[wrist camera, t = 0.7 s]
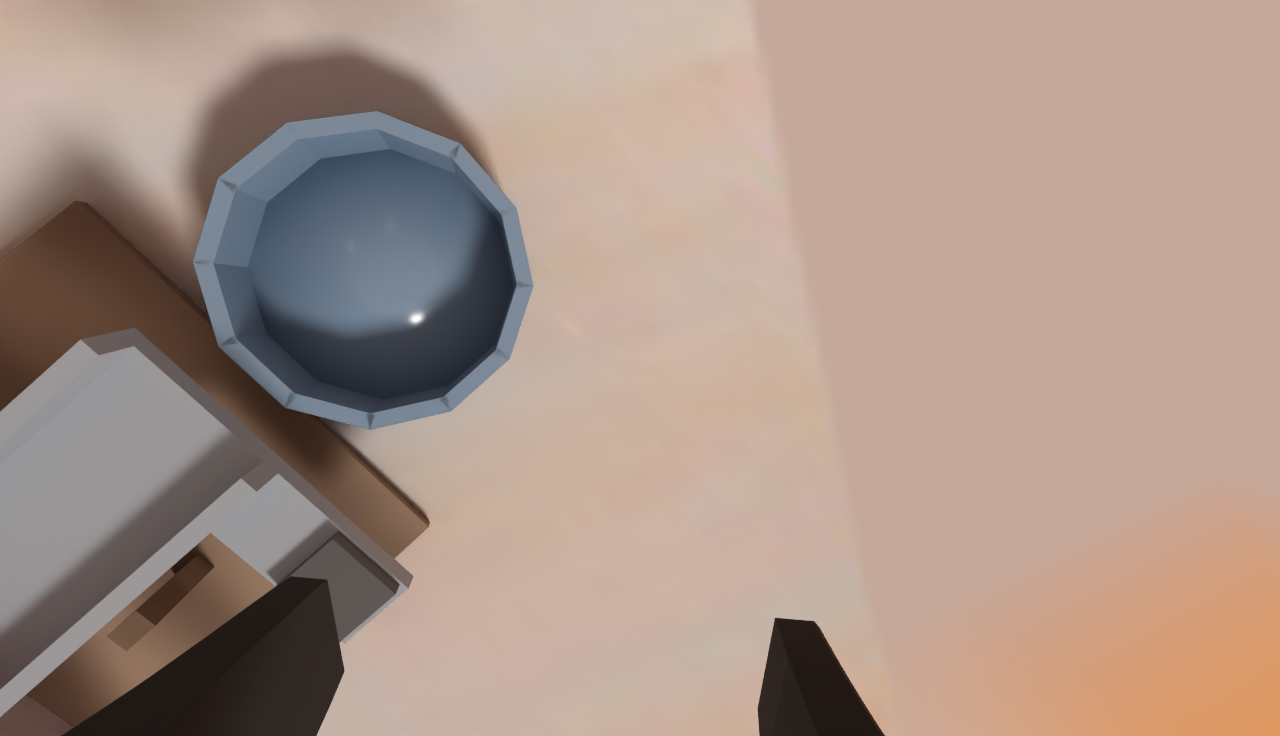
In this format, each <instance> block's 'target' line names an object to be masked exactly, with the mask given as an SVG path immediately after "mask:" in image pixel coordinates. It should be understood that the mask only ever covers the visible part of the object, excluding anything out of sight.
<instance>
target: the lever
mask: <svg viewBox="0 0 1280 736" xmlns="http://www.w3.org/2000/svg"><path fill="white" fill-rule="evenodd" d="M210 533H211V534H213V535H214V536H215V537H216V538H217V539H219V540H220V541H221V542H222V543H224V544H225V545H226V546H227V547H228V548H230V549H231V550H232V551H233V552H234V553H236V554H237V555H238V556H239V557H240V558H242V559H243V560H244V561H245V562H247V563H248V564H249V565H250V566H251V567H253V568H254V569H255V570H256V571H257V572H259V573H260V574H261V575H262V576H264V577H265V578H266V579H267V580H268V581H270V582H271V583H272V584H273V585H274V586H275V587H276V586H277V585H279V584H280V583H282V582H283V581H285V580H286V579H287V578H289V577H290V576H293V577H304V578H316V579H327V580H328V585H329V591H330V596H331V601H332V607H333V612H334V618H335V623H336V628H337V634H338V639H339V642H341V641H342V642H343V643H345V642H346V641H348V640H349V639H350V638H351V637H352V636H353V635H355V634H356V633H357V632H358V631H359V630H360V629H362V628H363V627H364V626H365V625H366V624H367V623H369V622H370V621H371V620H372V619H373V618H374V617H376V616H377V615H378V614H379V613H380V612H381V611H383V610H384V609H385V608H386V607H387V606H388V605H390V604H391V603H392V602H393V601H394V600H395V599H397V598H398V597H399V596H400V595H401V594H402V593H404V592H405V591H406V590H407V589H408V588H409V586H410V583H411V581H412V578H413V575H412V574H410V573H409V572H408V571H407V570H406V569H405V568H404V567H403V566H401V565H400V564H399V563H398V562H397V561H396V560H395V559H394V558H392V557H391V556H390V555H389V554H388V553H387V552H386V551H385V550H384V549H382V548H381V547H380V546H379V545H378V544H377V543H376V542H375V541H373V540H372V539H371V538H370V537H369V536H368V535H367V534H366V533H364V532H363V531H362V530H361V529H360V528H359V527H358V526H357V525H355V524H354V523H353V522H352V521H351V520H350V519H349V518H348V517H346V516H345V515H344V514H343V513H342V512H341V511H340V510H339V509H338V508H336V507H335V506H334V505H333V504H332V503H331V502H330V501H329V500H327V499H326V498H325V497H324V496H323V495H322V494H321V493H320V492H318V491H317V490H316V489H315V488H314V487H313V486H312V485H311V484H309V483H308V482H307V481H306V480H305V479H304V478H303V477H302V476H301V475H299V474H298V473H297V472H296V471H295V470H294V469H293V468H292V467H290V466H289V465H288V464H287V463H286V462H285V461H284V460H283V459H281V458H280V457H279V456H278V455H277V454H276V453H275V452H274V451H272V450H271V449H270V448H269V447H268V446H267V445H266V444H265V443H264V442H262V441H261V440H260V439H259V438H258V437H257V436H256V435H255V434H253V433H252V432H251V431H250V430H249V429H248V428H247V427H246V426H244V425H243V424H242V423H241V422H240V421H239V420H238V419H237V418H235V417H234V416H233V415H232V414H231V413H230V412H229V411H228V410H226V409H225V408H224V407H223V406H222V405H221V404H220V403H219V402H218V401H216V400H215V399H214V398H213V397H212V396H211V395H210V394H209V393H207V392H206V391H205V390H204V389H203V388H202V387H201V386H200V385H198V384H197V383H196V382H195V381H194V380H193V379H192V378H191V377H189V376H188V375H187V374H186V373H185V372H184V371H183V370H182V369H181V368H179V367H178V366H177V365H176V364H175V363H174V362H173V361H172V360H170V359H169V358H168V357H167V356H166V355H165V354H164V353H163V352H161V351H160V350H159V349H158V348H157V347H156V346H155V345H154V344H152V343H151V342H150V341H149V340H148V339H147V338H146V337H145V336H143V335H142V334H141V333H140V332H139V331H138V330H137V329H136V328H130V329H126V330H121V331H117V332H112V333H108V334H103V335H99V336H94V337H90V338H85V339H81V340H79V341H78V342H77V343H76V344H75V345H74V346H73V347H72V348H70V349H69V350H68V351H67V352H66V353H65V354H64V355H63V356H62V357H60V358H59V359H58V360H57V361H56V362H55V363H54V364H53V365H52V366H51V367H49V368H48V369H47V370H46V371H45V372H44V373H43V374H42V375H41V376H39V377H38V378H37V379H36V380H35V381H34V382H33V383H32V384H31V385H29V386H28V387H27V388H26V389H25V390H24V391H23V392H22V393H21V394H19V395H18V396H17V397H16V398H15V399H14V400H13V401H12V402H11V403H9V404H8V405H7V406H6V407H5V408H4V409H3V410H2V411H1V412H0V717H1V716H2V715H3V714H4V713H6V712H7V711H8V710H9V709H10V708H11V707H12V706H13V705H15V704H16V703H17V702H18V701H19V700H20V699H21V698H23V697H24V696H25V695H26V694H27V693H28V692H29V691H31V690H32V689H33V688H34V687H35V686H36V685H37V684H39V683H40V682H41V681H42V680H43V679H44V678H45V677H47V676H48V675H49V674H50V673H51V672H52V671H53V670H55V669H56V668H57V667H58V666H59V665H60V664H61V663H63V662H64V661H65V660H66V659H67V658H68V657H69V656H71V655H72V654H73V653H74V652H75V651H76V650H77V649H79V648H80V647H81V646H82V645H83V644H84V643H85V642H87V641H88V640H89V639H90V638H91V637H92V636H93V635H94V634H96V633H97V632H98V631H99V630H100V629H101V628H102V627H104V626H105V625H106V624H107V623H108V622H109V621H110V620H112V619H113V618H114V617H115V616H116V615H117V614H118V613H120V612H121V611H122V610H123V609H124V608H125V607H126V606H128V605H129V604H130V603H131V602H132V601H133V600H134V599H136V598H137V597H138V596H139V595H140V594H141V593H142V592H144V591H145V590H146V589H147V588H148V587H149V586H150V585H152V584H153V583H154V582H155V581H156V580H157V579H158V578H160V577H161V576H162V575H163V574H164V573H165V572H166V571H167V570H169V569H170V568H171V567H172V566H173V565H174V564H175V563H177V562H178V561H179V560H180V559H181V558H182V557H183V556H185V555H186V554H187V553H188V552H189V551H190V550H191V549H193V548H194V547H195V546H196V545H197V544H198V543H199V542H201V541H202V540H203V539H204V538H205V537H206V536H207V535H209V534H210Z"/></svg>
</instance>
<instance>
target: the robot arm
mask: <svg viewBox="0 0 1280 736" xmlns="http://www.w3.org/2000/svg"><path fill="white" fill-rule="evenodd" d="M343 673H344V666H343V661H342V655H341V650H340V645H339V639H338V634H337V628H336V623H335V618H334V612H333V607H332V601H331V596H330V591H329V585H328V580H327V579H316V578H304V577H293V576H290V577H289V578H287V579H286V580H285V581H283V582H282V583H280V584H279V585H277V586H276V587H274V588H273V589H271V590H270V591H269V592H267V593H266V594H264V595H263V596H262V597H260V598H259V599H257V600H256V601H255V602H253V603H252V604H251V605H249V606H248V607H246V608H245V609H244V610H242V611H241V612H240V613H238V614H237V615H235V616H234V617H233V618H231V619H230V620H229V621H227V622H226V623H224V624H223V625H222V626H220V627H219V628H218V629H216V630H215V631H213V632H212V633H211V634H209V635H208V636H207V637H205V638H204V639H202V640H201V641H199V642H198V643H197V644H195V645H194V646H192V647H191V648H190V649H188V650H187V651H185V652H184V653H183V654H181V655H180V656H178V657H177V658H176V659H174V660H173V661H171V662H170V663H169V664H167V665H166V666H164V667H163V668H162V669H160V670H159V671H157V672H156V673H154V674H153V675H152V676H150V677H149V678H147V679H146V680H144V681H143V682H142V683H140V684H139V685H137V686H136V687H134V688H133V689H131V690H130V691H128V692H127V693H125V694H124V695H122V696H121V697H119V698H118V699H116V700H115V701H113V702H112V703H110V704H109V705H107V706H106V707H104V708H103V709H101V710H100V711H98V712H97V713H95V714H94V715H92V716H91V717H89V718H88V719H86V720H85V721H83V722H82V723H80V724H79V725H77V726H76V727H74V728H73V729H71V730H70V731H68V732H67V733H65V734H64V735H62V736H316V735H317V733H318V731H319V729H320V726H321V724H322V722H323V720H324V718H325V715H326V713H327V711H328V709H329V707H330V704H331V702H332V699H333V697H334V695H335V692H336V690H337V688H338V685H339V683H340V680H341V678H342V676H343ZM758 718H759V733H760V736H885V735H884V734H883V732H882V731H881V729H880V728H879V726H878V725H877V723H876V722H875V720H874V718H873V717H872V715H871V714H870V712H869V711H868V709H867V707H866V706H865V704H864V703H863V701H862V699H861V698H860V696H859V694H858V693H857V691H856V690H855V688H854V686H853V685H852V683H851V681H850V680H849V678H848V676H847V675H846V673H845V671H844V670H843V668H842V666H841V665H840V663H839V661H838V659H837V658H836V656H835V654H834V653H833V651H832V649H831V647H830V645H829V644H828V642H827V640H826V638H825V637H824V635H823V633H822V631H821V629H820V628H819V626H818V625H817V624H816V623H815V622H814V621H805V620H793V619H782V618H775V621H774V626H773V632H772V637H771V642H770V647H769V652H768V658H767V663H766V668H765V673H764V679H763V684H762V689H761V694H760V700H759V705H758Z"/></svg>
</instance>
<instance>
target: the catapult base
mask: <svg viewBox="0 0 1280 736" xmlns="http://www.w3.org/2000/svg"><path fill="white" fill-rule="evenodd" d="M130 328H136V329H137V330H138V331H139V332H140V333H141V334H142V335H143V336H145V337H146V338H147V339H148V340H149V341H150V342H151V343H152V344H154V345H155V346H156V347H157V348H158V349H159V350H160V351H161V352H163V353H164V354H165V355H166V356H167V357H168V358H169V359H170V360H172V361H173V362H174V363H175V364H176V365H177V366H178V367H179V368H181V369H182V370H183V371H184V372H185V373H186V374H187V375H188V376H189V377H191V378H192V379H193V380H194V381H195V382H196V383H197V384H198V385H200V386H201V387H202V388H203V389H204V390H205V391H206V392H207V393H209V394H210V395H211V396H212V397H213V398H214V399H215V400H216V401H218V402H219V403H220V404H221V405H222V406H223V407H224V408H225V409H226V410H228V411H229V412H230V413H231V414H232V415H233V416H234V417H235V418H237V419H238V420H239V421H240V422H241V423H242V424H243V425H244V426H246V427H247V428H248V429H249V430H250V431H251V432H252V433H253V434H255V435H256V436H257V437H258V438H259V439H260V440H261V441H262V442H264V443H265V444H266V445H267V446H268V447H269V448H270V449H271V450H272V451H274V452H275V453H276V454H277V455H278V456H279V457H280V458H281V459H283V460H284V461H285V462H286V463H287V464H288V465H289V466H290V467H292V468H293V469H294V470H295V471H296V472H297V473H298V474H299V475H301V476H302V477H303V478H304V479H305V480H306V481H307V482H308V483H309V484H311V485H312V486H313V487H314V488H315V489H316V490H317V491H318V492H320V493H321V494H322V495H323V496H324V497H325V498H326V499H327V500H329V501H330V502H331V503H332V504H333V505H334V506H335V507H336V508H338V509H339V510H340V511H341V512H342V513H343V514H344V515H345V516H346V517H348V518H349V519H350V520H351V521H352V522H353V523H354V524H355V525H357V526H358V527H359V528H360V529H361V530H362V531H363V532H364V533H366V534H367V535H368V536H369V537H370V538H371V539H372V540H373V541H375V542H376V543H377V544H378V545H379V546H380V547H381V548H382V549H384V550H385V551H386V552H387V553H388V554H389V555H390V556H391V557H392V558H395V557H396V556H398V555H399V554H400V553H401V552H402V551H403V550H404V549H405V548H406V547H407V546H408V545H410V544H411V543H412V542H413V541H414V540H415V539H416V538H417V537H418V536H419V535H420V534H422V533H423V532H424V531H425V530H426V529H427V528H428V527H429V524H430V522H429V521H428V520H427V519H426V518H425V517H424V516H423V515H421V514H420V513H419V512H418V511H417V510H416V509H415V508H414V507H413V506H412V505H411V504H410V503H409V502H407V501H406V500H405V499H404V498H403V497H402V496H401V495H400V494H399V493H398V492H397V491H396V490H395V489H393V488H392V487H391V486H390V485H389V484H388V483H387V482H386V481H385V480H384V479H383V478H382V477H381V476H379V475H378V474H377V473H376V472H375V471H374V470H373V469H372V468H371V467H370V466H369V465H368V464H367V463H365V462H364V461H363V460H362V459H361V458H360V457H359V456H358V455H357V454H356V453H355V452H354V451H353V450H351V449H350V448H349V447H348V446H347V445H346V444H345V443H344V442H343V441H342V440H341V439H340V438H339V437H337V436H336V435H335V434H334V433H333V432H332V431H331V430H330V429H329V428H328V427H327V426H326V425H325V424H323V423H322V422H321V421H320V420H319V419H318V418H317V417H316V416H315V415H311V414H308V413H304V412H300V411H296V410H292V409H288V408H285V407H284V406H283V405H282V404H280V403H279V402H278V401H277V400H276V399H275V398H274V397H273V396H272V395H271V394H270V393H268V392H267V391H266V390H265V389H264V388H263V387H262V386H261V385H260V384H259V383H258V382H256V381H255V380H254V379H253V378H252V377H251V376H250V375H249V374H248V373H247V372H246V371H245V370H243V369H242V368H241V367H240V366H239V365H238V364H237V363H236V362H235V361H234V360H233V359H231V358H230V357H229V356H228V355H227V354H226V353H225V352H224V351H223V350H222V349H221V348H219V346H218V343H217V340H216V336H215V333H214V330H213V327H212V323H211V320H210V318H209V317H208V316H207V315H206V314H205V313H204V312H203V311H202V310H201V309H200V308H199V307H198V306H196V305H195V304H194V303H193V302H192V301H191V300H190V299H189V298H188V297H187V296H186V295H185V294H184V293H182V292H181V291H180V290H179V289H178V288H177V287H176V286H175V285H174V284H173V283H172V282H171V281H170V280H168V279H167V278H166V277H165V276H164V275H163V274H162V273H161V272H160V271H159V270H158V269H157V268H156V267H154V266H153V265H152V264H151V263H150V262H149V261H148V260H147V259H146V258H145V257H144V256H143V255H142V254H140V253H139V252H138V251H137V250H136V249H135V248H134V247H133V246H132V245H131V244H130V243H129V242H128V241H126V240H125V239H124V238H123V237H122V236H121V235H120V234H119V233H118V232H117V231H116V230H115V229H114V228H112V227H111V226H110V225H109V224H108V223H107V222H106V221H105V220H104V219H103V218H102V217H101V216H100V215H98V214H97V213H96V212H95V211H94V210H93V209H92V208H91V207H90V206H89V205H88V204H87V203H84V202H79V201H75V202H74V203H72V204H71V205H70V206H69V207H67V208H66V209H65V210H64V211H62V212H61V213H60V214H59V215H57V216H56V217H55V218H53V219H52V220H51V221H50V222H48V223H47V224H46V225H45V226H43V227H42V228H41V229H39V230H38V231H37V232H36V233H34V234H33V235H32V236H31V237H29V238H28V239H27V240H26V241H24V242H23V243H22V244H20V245H19V246H18V247H17V248H15V249H14V250H13V251H12V252H10V253H9V254H8V255H7V256H5V257H4V258H3V259H1V260H0V412H1V411H2V410H3V409H4V408H5V407H6V406H7V405H8V404H9V403H11V402H12V401H13V400H14V399H15V398H16V397H17V396H18V395H19V394H21V393H22V392H23V391H24V390H25V389H26V388H27V387H28V386H29V385H31V384H32V383H33V382H34V381H35V380H36V379H37V378H38V377H39V376H41V375H42V374H43V373H44V372H45V371H46V370H47V369H48V368H49V367H51V366H52V365H53V364H54V363H55V362H56V361H57V360H58V359H59V358H60V357H62V356H63V355H64V354H65V353H66V352H67V351H68V350H69V349H70V348H72V347H73V346H74V345H75V344H76V343H77V342H78V341H79V340H81V339H85V338H90V337H94V336H99V335H103V334H108V333H112V332H117V331H121V330H126V329H130ZM274 587H275V586H274V585H273V584H272V583H271V582H270V581H268V580H267V579H266V578H265V577H264V576H262V575H261V574H260V573H259V572H257V571H256V570H255V569H254V568H253V567H251V566H250V565H249V564H248V563H247V562H245V561H244V560H243V559H242V558H240V557H239V556H238V555H237V554H236V553H234V552H233V551H232V550H231V549H230V548H228V547H227V546H226V545H225V544H224V543H222V542H221V541H220V540H219V539H217V538H216V537H215V536H214V535H213V534H211V533H210V534H209V535H207V536H206V537H205V538H204V539H203V540H202V541H201V542H199V543H198V544H197V545H196V546H195V547H194V548H193V549H191V550H190V551H189V552H188V553H187V554H186V555H185V556H183V557H182V558H181V559H180V560H179V561H178V562H177V563H175V564H174V565H173V566H172V567H171V568H170V569H169V570H167V571H166V572H165V573H164V574H163V575H162V576H161V577H160V578H158V579H157V580H156V581H155V582H154V583H153V584H152V585H150V586H149V587H148V588H147V589H146V590H145V591H144V592H142V593H141V594H140V595H139V596H138V597H137V598H136V599H134V600H133V601H132V602H131V603H130V604H129V605H128V606H126V607H125V608H124V609H123V610H122V611H121V612H120V613H118V614H117V615H116V616H115V617H114V618H113V619H112V620H110V621H109V622H108V623H107V624H106V625H105V626H104V627H102V628H101V629H100V630H99V631H98V632H97V633H96V634H94V635H93V636H92V637H91V638H90V639H89V640H88V641H87V642H85V643H84V644H83V645H82V646H81V647H80V648H79V649H77V650H76V651H75V652H74V653H73V654H72V655H71V656H69V657H68V658H67V659H66V660H65V661H64V662H63V663H61V664H60V665H59V666H58V667H57V668H56V669H55V670H53V671H52V672H51V673H50V674H49V675H48V676H47V677H45V678H44V679H43V680H42V681H41V682H40V683H39V684H37V685H36V686H35V687H34V688H33V689H32V690H31V691H29V692H28V693H27V695H28V696H30V697H31V698H33V699H34V700H36V701H37V702H39V703H40V704H42V705H43V706H45V707H46V708H47V709H49V710H50V711H52V712H53V713H55V714H56V715H58V716H59V717H61V718H62V719H63V720H65V721H66V722H68V723H69V724H71V725H72V726H74V727H76V726H77V725H79V724H80V723H82V722H83V721H85V720H86V719H88V718H89V717H91V716H92V715H94V714H95V713H97V712H98V711H100V710H101V709H103V708H104V707H106V706H107V705H109V704H110V703H112V702H113V701H115V700H116V699H118V698H119V697H121V696H122V695H124V694H125V693H127V692H128V691H130V690H131V689H133V688H134V687H136V686H137V685H139V684H140V683H142V682H143V681H144V680H146V679H147V678H149V677H150V676H152V675H153V674H154V673H156V672H157V671H159V670H160V669H162V668H163V667H164V666H166V665H167V664H169V663H170V662H171V661H173V660H174V659H176V658H177V657H178V656H180V655H181V654H183V653H184V652H185V651H187V650H188V649H190V648H191V647H192V646H194V645H195V644H197V643H198V642H199V641H201V640H202V639H204V638H205V637H207V636H208V635H209V634H211V633H212V632H213V631H215V630H216V629H218V628H219V627H220V626H222V625H223V624H224V623H226V622H227V621H229V620H230V619H231V618H233V617H234V616H235V615H237V614H238V613H240V612H241V611H242V610H244V609H245V608H246V607H248V606H249V605H251V604H252V603H253V602H255V601H256V600H257V599H259V598H260V597H262V596H263V595H264V594H266V593H267V592H269V591H270V590H271V589H273V588H274Z"/></svg>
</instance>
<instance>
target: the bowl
mask: <svg viewBox="0 0 1280 736" xmlns="http://www.w3.org/2000/svg"><path fill="white" fill-rule="evenodd" d="M193 264H194V267H195V271H196V274H197V277H198V281H199V284H200V287H201V290H202V294H203V297H204V300H205V304H206V307H207V310H208V313H209V317H210V320H211V323H212V327H213V330H214V333H215V336H216V340H217V343H218V346H219V348H221V349H222V350H223V351H224V352H225V353H226V354H227V355H228V356H229V357H230V358H231V359H233V360H234V361H235V362H236V363H237V364H238V365H239V366H240V367H241V368H242V369H243V370H245V371H246V372H247V373H248V374H249V375H250V376H251V377H252V378H253V379H254V380H255V381H256V382H258V383H259V384H260V385H261V386H262V387H263V388H264V389H265V390H266V391H267V392H268V393H270V394H271V395H272V396H273V397H274V398H275V399H276V400H277V401H278V402H279V403H280V404H282V405H283V406H284V407H285V408H288V409H292V410H296V411H300V412H304V413H308V414H311V415H315V416H319V417H323V418H327V419H331V420H334V421H338V422H342V423H346V424H350V425H354V426H357V427H361V428H365V429H369V430H371V429H376V428H380V427H384V426H389V425H393V424H398V423H402V422H406V421H411V420H415V419H419V418H424V417H428V416H432V415H437V414H441V413H445V412H450V411H452V410H453V409H454V408H455V407H456V406H457V405H459V404H460V403H461V402H462V401H463V400H464V399H465V398H466V397H468V396H469V395H470V394H471V393H472V392H473V391H474V390H475V389H477V388H478V387H479V386H480V385H481V384H482V383H483V382H484V381H485V380H487V379H488V378H489V377H490V376H491V375H492V374H493V373H494V372H496V371H497V370H498V369H499V368H500V367H501V366H502V365H503V364H504V363H506V362H507V361H508V360H509V359H510V356H511V353H512V350H513V347H514V344H515V341H516V338H517V334H518V331H519V328H520V325H521V322H522V319H523V316H524V313H525V310H526V307H527V304H528V300H529V297H530V294H531V291H532V288H533V282H532V278H531V273H530V268H529V264H528V259H527V255H526V250H525V245H524V241H523V236H522V232H521V227H520V222H519V218H518V213H517V209H516V207H515V206H514V205H513V203H512V202H511V201H510V200H509V199H508V198H507V196H506V195H505V194H504V193H503V192H502V191H501V190H500V188H499V187H498V186H497V185H496V184H495V183H494V181H493V180H492V179H491V178H490V177H489V176H488V175H487V173H486V172H485V171H484V170H483V169H482V168H481V167H480V165H479V164H478V163H477V162H476V161H475V160H474V158H473V157H472V156H471V155H470V154H469V153H468V152H467V150H466V149H465V148H464V147H463V146H462V145H461V143H458V142H455V141H453V140H450V139H448V138H445V137H443V136H440V135H437V134H435V133H432V132H430V131H427V130H425V129H422V128H420V127H417V126H414V125H412V124H409V123H407V122H404V121H402V120H399V119H396V118H394V117H391V116H389V115H386V114H384V113H381V112H379V111H372V112H365V113H357V114H349V115H341V116H333V117H326V118H318V119H310V120H302V121H295V122H287V123H286V124H285V125H283V126H282V127H281V128H280V129H278V130H277V131H276V132H275V133H273V134H272V135H271V136H270V137H268V138H267V139H266V140H265V141H263V142H262V143H261V144H260V145H259V146H257V147H256V148H255V149H254V150H252V151H251V152H250V153H249V154H247V155H246V156H245V157H244V158H242V159H241V160H240V161H239V162H237V163H236V164H235V165H234V166H232V167H231V168H230V169H229V170H228V171H226V172H225V173H224V174H223V175H221V176H220V177H219V178H218V180H217V183H216V187H215V190H214V193H213V197H212V200H211V203H210V206H209V210H208V213H207V216H206V220H205V223H204V226H203V230H202V233H201V236H200V240H199V243H198V246H197V249H196V253H195V256H194V259H193Z"/></svg>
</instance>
